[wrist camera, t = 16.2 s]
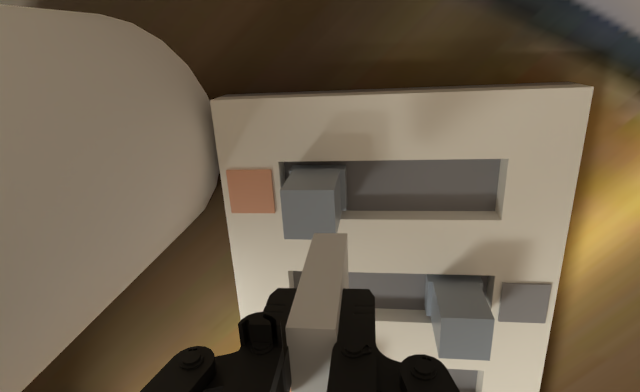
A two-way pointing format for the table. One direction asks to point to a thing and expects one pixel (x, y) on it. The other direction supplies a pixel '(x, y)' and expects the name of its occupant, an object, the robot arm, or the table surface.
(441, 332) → the switch tab
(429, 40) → the table surface
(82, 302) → the cylinder
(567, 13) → the table surface
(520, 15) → the table surface
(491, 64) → the table surface
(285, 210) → the switch tab
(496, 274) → the switch bank
